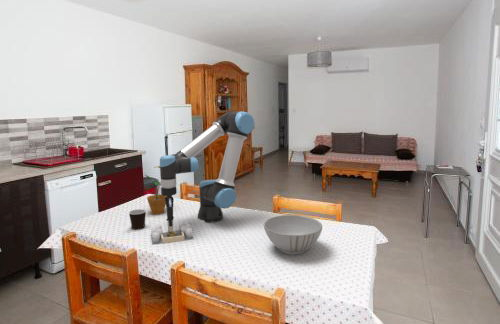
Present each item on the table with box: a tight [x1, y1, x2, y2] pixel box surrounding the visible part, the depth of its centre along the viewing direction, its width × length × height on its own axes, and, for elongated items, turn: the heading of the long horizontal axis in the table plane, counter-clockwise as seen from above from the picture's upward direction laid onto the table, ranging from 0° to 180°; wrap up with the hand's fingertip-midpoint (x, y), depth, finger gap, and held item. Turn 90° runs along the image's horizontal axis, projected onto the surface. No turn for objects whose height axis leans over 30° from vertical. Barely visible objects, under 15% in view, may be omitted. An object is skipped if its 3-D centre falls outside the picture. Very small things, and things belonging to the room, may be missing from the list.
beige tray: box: [150, 222, 195, 246], centre depth 172 cm, size 20×14×6 cm
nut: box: [167, 230, 177, 237], centre depth 172 cm, size 4×5×2 cm
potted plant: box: [145, 165, 166, 215], centre depth 211 cm, size 18×19×30 cm
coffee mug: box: [128, 208, 147, 231], centre depth 186 cm, size 12×9×10 cm
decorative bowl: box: [263, 214, 323, 255], centre depth 158 cm, size 27×27×12 cm
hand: (170, 231), depth 174 cm, fingers closed
